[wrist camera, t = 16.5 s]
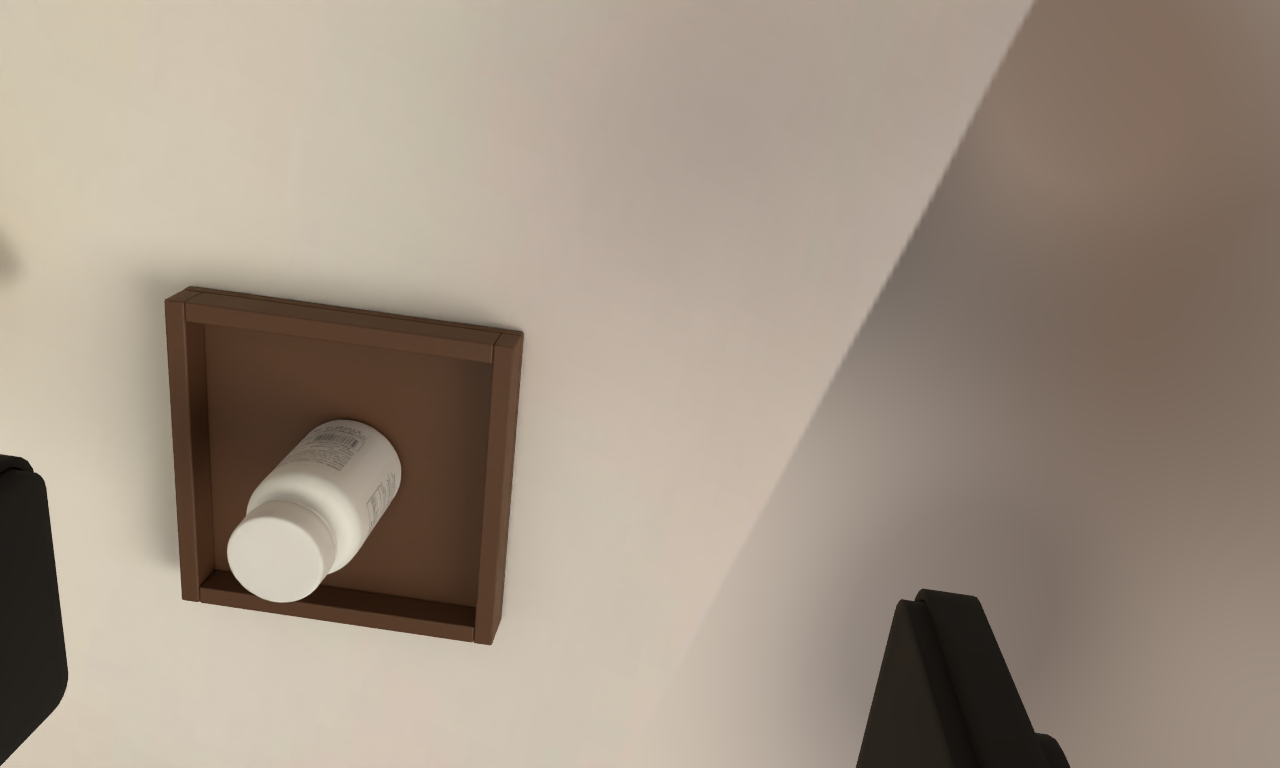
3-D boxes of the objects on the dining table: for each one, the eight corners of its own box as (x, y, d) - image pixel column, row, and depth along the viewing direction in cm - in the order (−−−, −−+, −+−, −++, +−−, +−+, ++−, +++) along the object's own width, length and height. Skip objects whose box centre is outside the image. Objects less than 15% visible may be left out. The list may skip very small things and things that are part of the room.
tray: (524, 331, 39) (514, 347, 37) (501, 619, 44) (491, 646, 42) (189, 285, 39) (163, 299, 38) (203, 575, 44) (181, 600, 42)
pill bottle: (279, 450, 41) (185, 544, 34) (358, 397, 40) (278, 482, 33) (346, 529, 42) (269, 635, 35) (425, 480, 41) (362, 579, 34)
